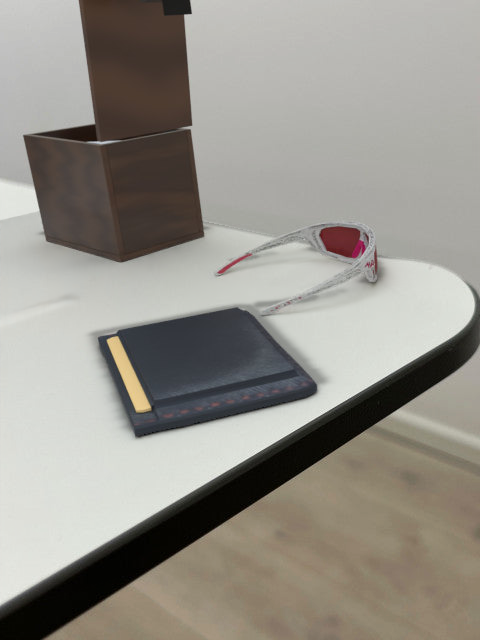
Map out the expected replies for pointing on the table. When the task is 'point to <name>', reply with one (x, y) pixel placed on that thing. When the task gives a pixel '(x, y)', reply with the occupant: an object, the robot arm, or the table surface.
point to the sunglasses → (326, 253)
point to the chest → (116, 190)
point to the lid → (135, 67)
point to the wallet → (200, 369)
